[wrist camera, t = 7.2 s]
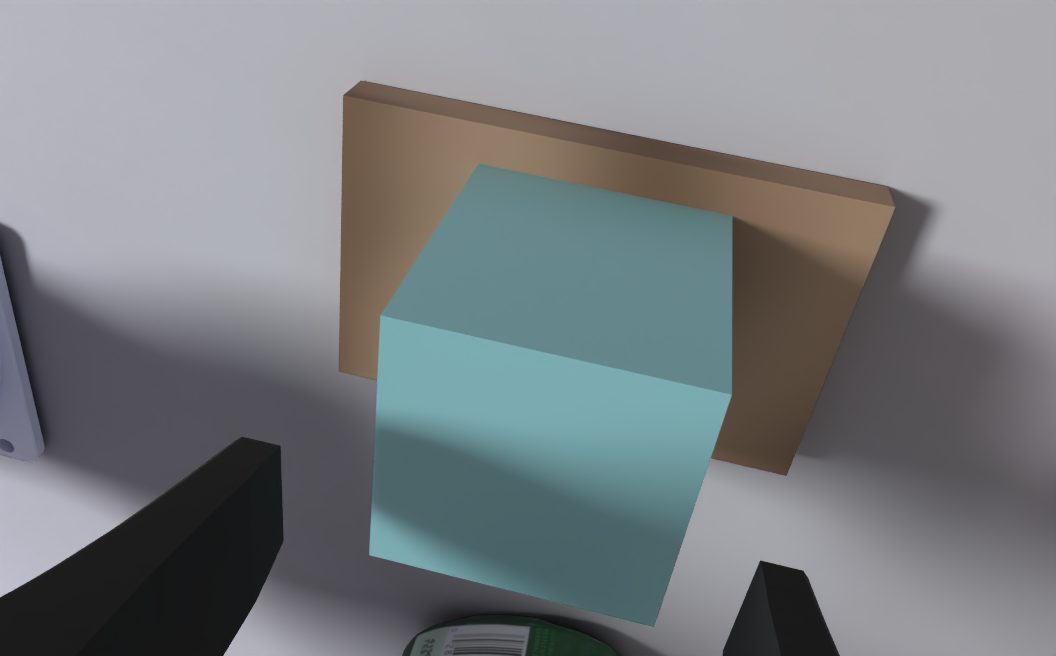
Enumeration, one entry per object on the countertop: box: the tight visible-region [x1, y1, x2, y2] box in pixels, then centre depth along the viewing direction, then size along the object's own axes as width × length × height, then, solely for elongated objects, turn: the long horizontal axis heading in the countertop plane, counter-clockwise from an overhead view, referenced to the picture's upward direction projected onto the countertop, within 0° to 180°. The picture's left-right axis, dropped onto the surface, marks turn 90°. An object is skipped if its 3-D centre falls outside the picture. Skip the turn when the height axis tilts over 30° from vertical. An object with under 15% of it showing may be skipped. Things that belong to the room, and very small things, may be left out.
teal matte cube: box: [369, 164, 732, 627], centre depth 17 cm, size 5×5×6 cm
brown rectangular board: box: [339, 81, 895, 476], centre depth 18 cm, size 11×7×5 cm, turn 82°
